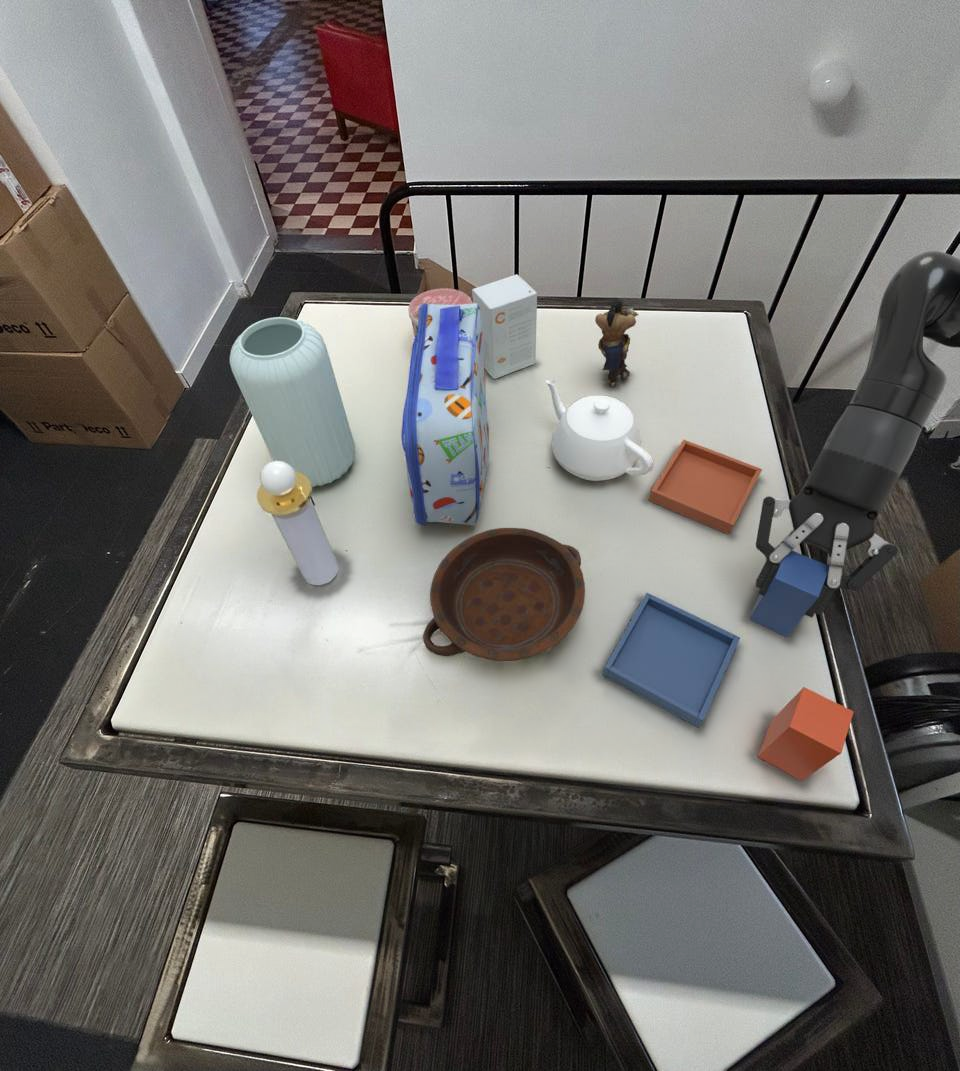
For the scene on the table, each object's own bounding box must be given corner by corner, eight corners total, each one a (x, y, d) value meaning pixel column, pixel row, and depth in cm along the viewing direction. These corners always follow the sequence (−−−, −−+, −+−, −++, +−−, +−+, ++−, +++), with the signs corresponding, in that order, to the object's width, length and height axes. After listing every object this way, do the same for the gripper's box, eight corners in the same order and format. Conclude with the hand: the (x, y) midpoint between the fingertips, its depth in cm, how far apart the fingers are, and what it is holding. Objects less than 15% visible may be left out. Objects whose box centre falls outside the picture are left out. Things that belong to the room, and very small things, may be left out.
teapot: (513, 439, 91) (513, 385, 83) (573, 401, 96) (579, 347, 87) (612, 518, 82) (623, 466, 73) (673, 473, 86) (690, 418, 78)
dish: (625, 610, 73) (631, 589, 69) (475, 719, 66) (473, 702, 62) (533, 520, 82) (534, 496, 78) (392, 607, 75) (385, 586, 71)
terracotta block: (815, 743, 63) (854, 711, 56) (802, 781, 61) (841, 753, 54) (771, 720, 65) (803, 686, 57) (757, 756, 63) (789, 726, 55)
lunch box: (423, 403, 97) (403, 272, 79) (488, 401, 96) (483, 269, 79) (411, 544, 80) (383, 419, 63) (490, 542, 80) (484, 416, 62)
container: (401, 351, 105) (394, 310, 98) (442, 322, 109) (438, 280, 103) (447, 375, 101) (442, 333, 94) (487, 344, 105) (486, 302, 99)
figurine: (603, 399, 95) (616, 315, 83) (580, 380, 98) (590, 296, 86) (637, 382, 98) (654, 297, 85) (614, 364, 100) (627, 279, 88)
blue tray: (735, 645, 70) (740, 637, 68) (698, 727, 65) (703, 720, 63) (643, 601, 74) (646, 592, 72) (602, 674, 69) (604, 667, 67)
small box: (517, 344, 105) (517, 272, 94) (536, 364, 101) (538, 292, 91) (475, 359, 103) (470, 288, 92) (493, 380, 99) (490, 309, 89)
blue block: (799, 608, 72) (830, 566, 65) (787, 637, 70) (818, 597, 63) (761, 591, 74) (787, 548, 67) (748, 619, 72) (774, 577, 65)
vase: (264, 480, 88) (201, 352, 71) (310, 429, 94) (263, 299, 76) (330, 505, 85) (281, 377, 67) (373, 451, 91) (339, 320, 73)
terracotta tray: (757, 479, 85) (762, 468, 83) (729, 535, 79) (733, 525, 77) (680, 449, 88) (683, 439, 87) (648, 500, 83) (651, 490, 81)
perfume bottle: (347, 586, 77) (303, 480, 61) (301, 597, 76) (245, 493, 60) (341, 550, 80) (298, 440, 64) (297, 560, 80) (243, 452, 64)
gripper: (792, 431, 62) (718, 580, 66) (948, 485, 57) (857, 643, 61) (789, 437, 69) (722, 572, 73) (928, 486, 64) (848, 628, 68)
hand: (784, 603), depth 67 cm, fingers closed on blue block, 4 cm apart
